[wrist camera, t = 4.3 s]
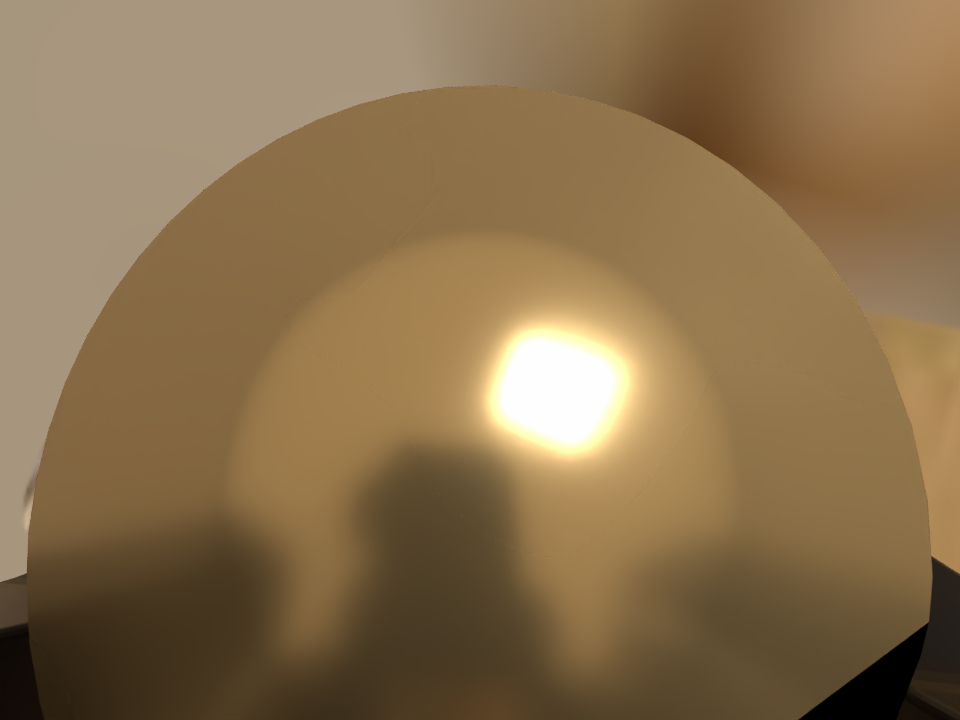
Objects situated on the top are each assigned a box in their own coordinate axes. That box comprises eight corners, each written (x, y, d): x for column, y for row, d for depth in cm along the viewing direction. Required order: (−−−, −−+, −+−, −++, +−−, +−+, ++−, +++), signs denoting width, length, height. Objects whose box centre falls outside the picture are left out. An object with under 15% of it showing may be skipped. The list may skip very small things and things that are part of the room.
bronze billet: (633, 561, 14) (1129, 1188, 2) (469, 564, 15) (-64, 984, 2) (613, 395, 15) (794, 15, 3) (463, 406, 16) (101, 152, 4)
